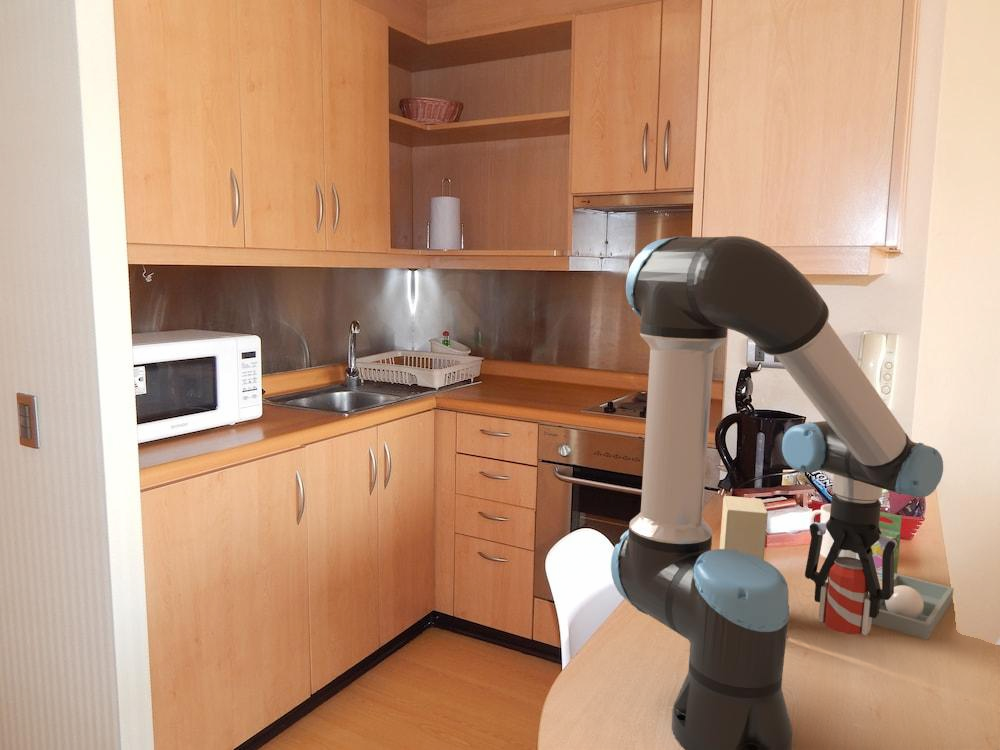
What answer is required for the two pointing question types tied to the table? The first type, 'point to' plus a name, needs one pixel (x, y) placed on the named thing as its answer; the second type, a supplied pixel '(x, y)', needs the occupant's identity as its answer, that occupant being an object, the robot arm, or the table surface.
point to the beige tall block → (744, 525)
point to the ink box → (889, 532)
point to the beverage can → (846, 595)
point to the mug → (827, 538)
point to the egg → (905, 602)
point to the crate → (934, 609)
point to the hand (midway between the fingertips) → (844, 626)
